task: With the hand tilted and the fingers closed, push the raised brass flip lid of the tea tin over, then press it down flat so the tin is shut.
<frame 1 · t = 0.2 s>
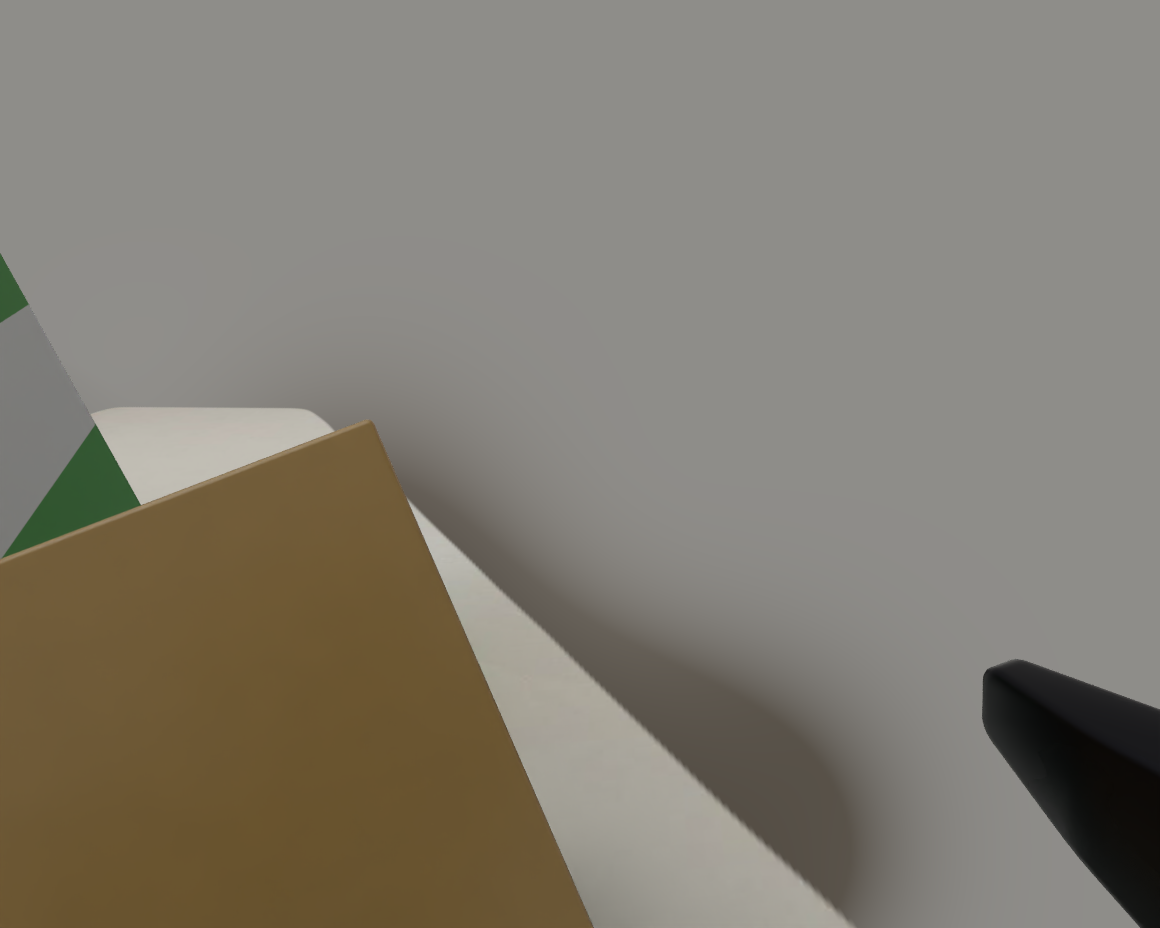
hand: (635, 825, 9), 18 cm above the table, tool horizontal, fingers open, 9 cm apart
hardback book: (129, 804, 35), on the table
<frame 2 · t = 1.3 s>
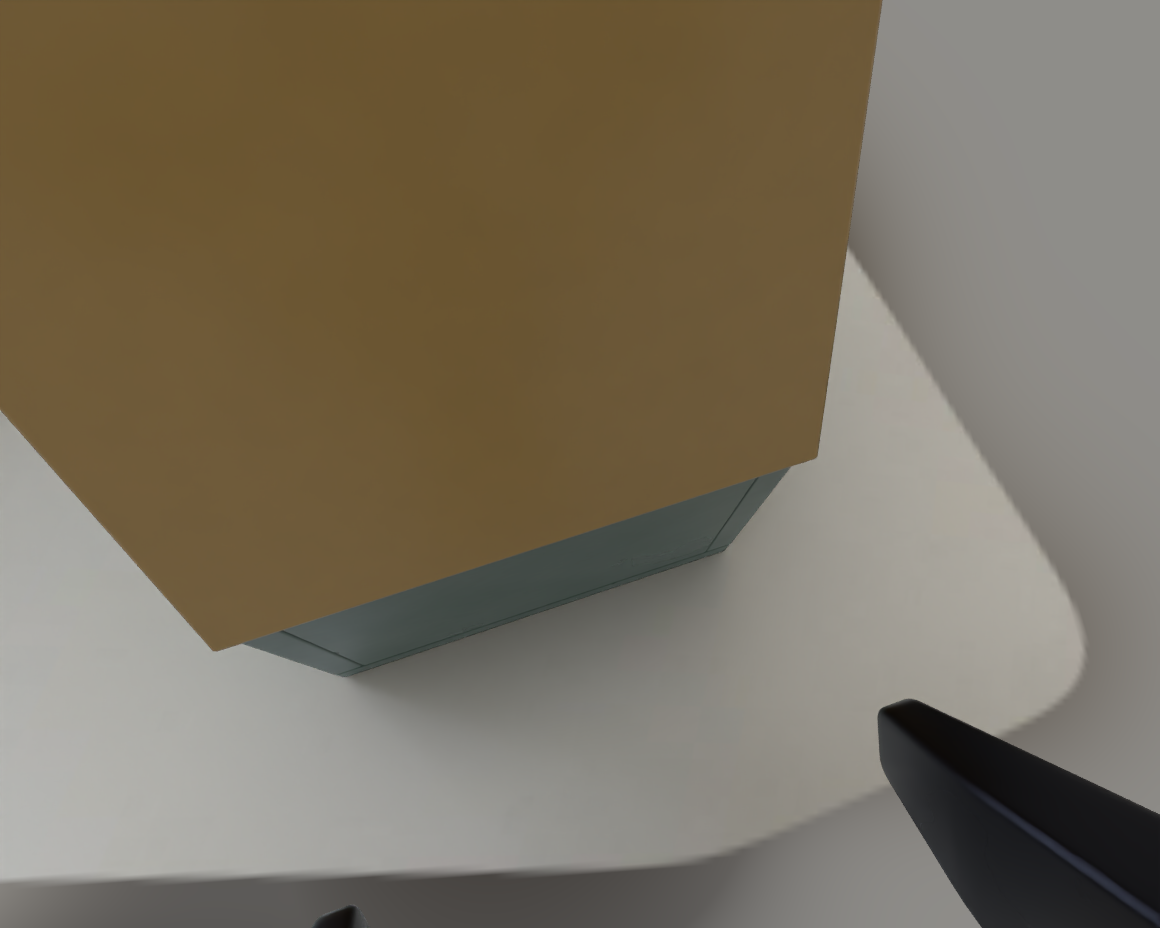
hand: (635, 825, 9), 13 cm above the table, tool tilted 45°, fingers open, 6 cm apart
tin lid: (425, 158, 9), point 15 cm above the table, hinge at 65.0°
tea tin: (476, 409, 24), on the table
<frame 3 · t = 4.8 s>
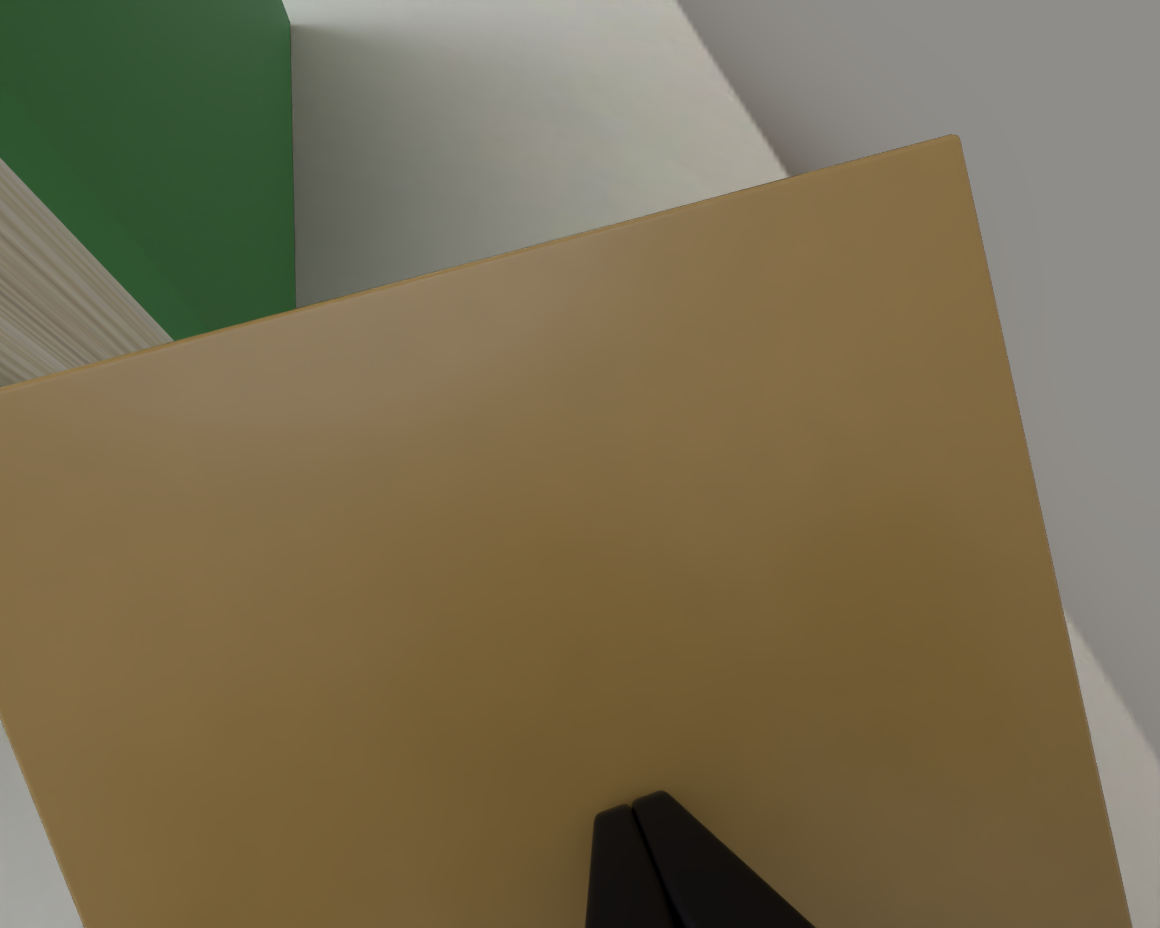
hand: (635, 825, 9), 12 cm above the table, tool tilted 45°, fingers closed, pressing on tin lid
hardback book: (187, 220, 26), on the table
tin lid: (644, 856, 9), point 11 cm above the table, hinge at 26.4°, touching gripper
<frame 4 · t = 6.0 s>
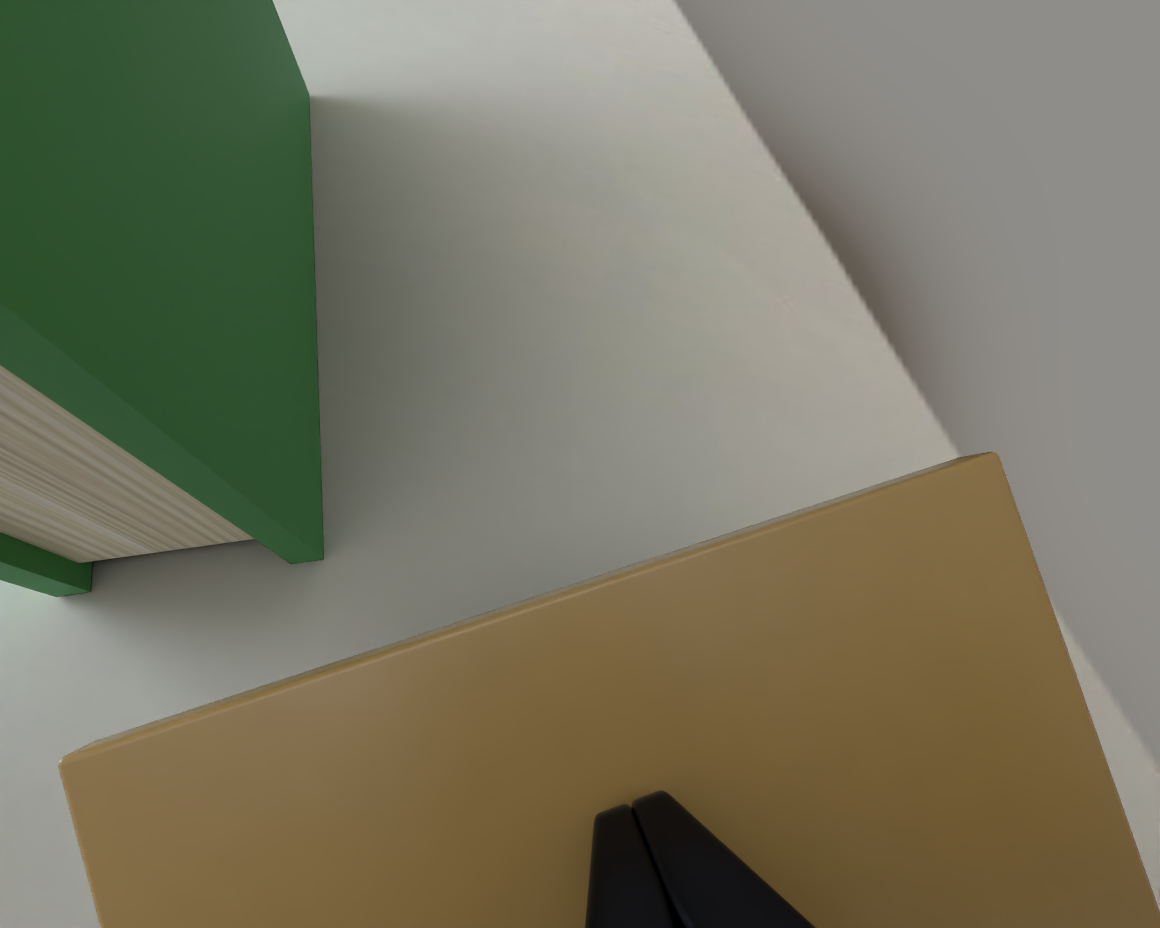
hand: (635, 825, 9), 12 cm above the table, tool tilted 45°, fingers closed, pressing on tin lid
hardback book: (202, 314, 25), on the table
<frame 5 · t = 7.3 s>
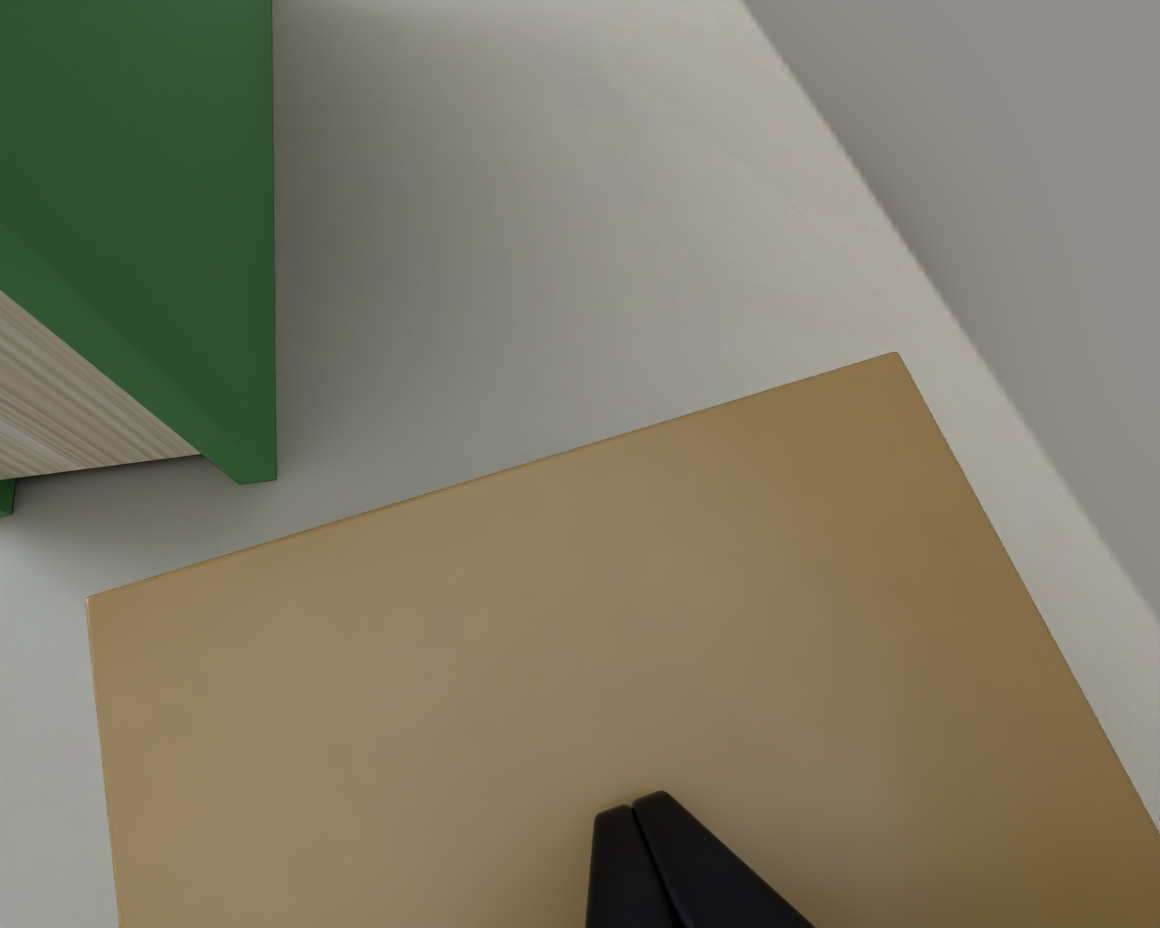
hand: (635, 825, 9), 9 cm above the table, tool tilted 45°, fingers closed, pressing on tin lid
hardback book: (147, 218, 22), on the table
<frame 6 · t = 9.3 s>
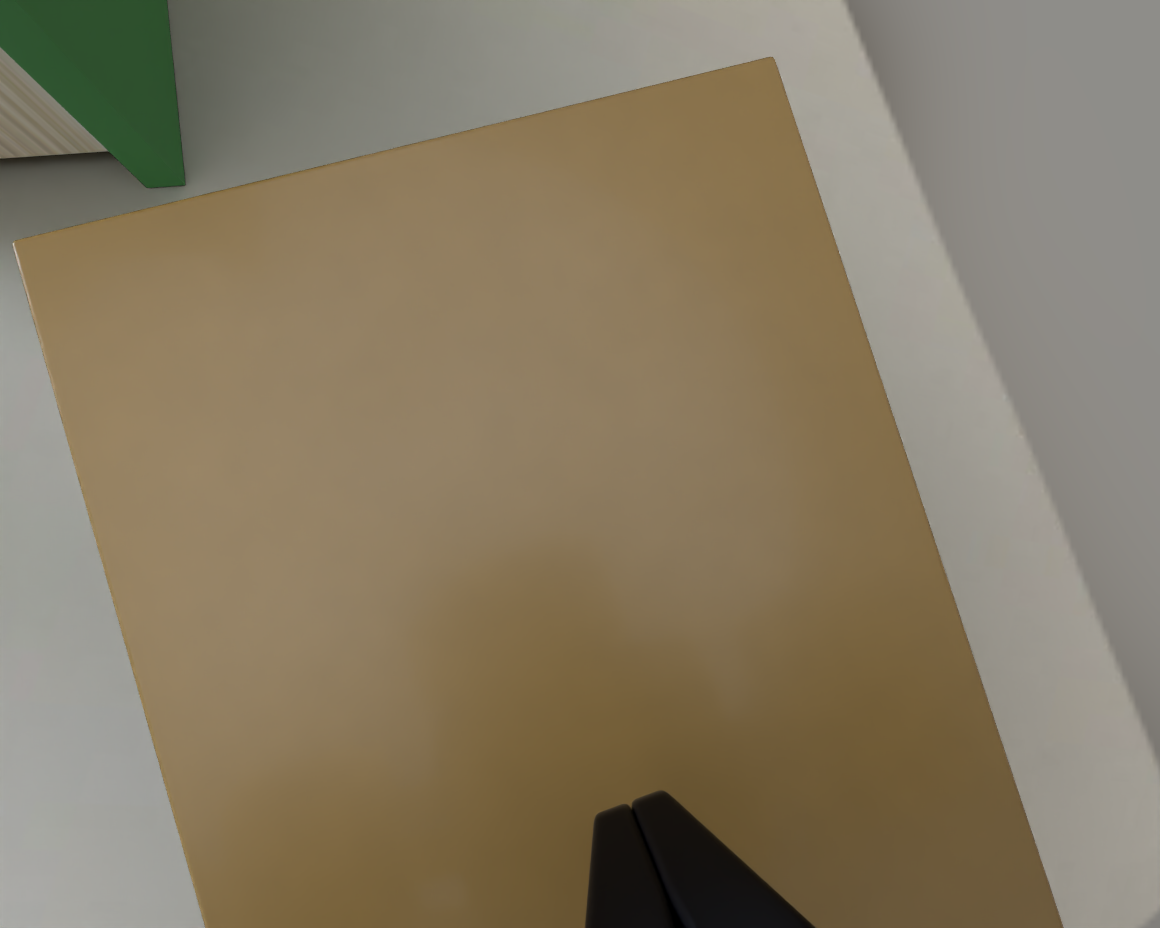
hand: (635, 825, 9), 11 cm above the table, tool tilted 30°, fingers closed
tin lid: (558, 604, 11), point 8 cm above the table, hinge at -0.1°
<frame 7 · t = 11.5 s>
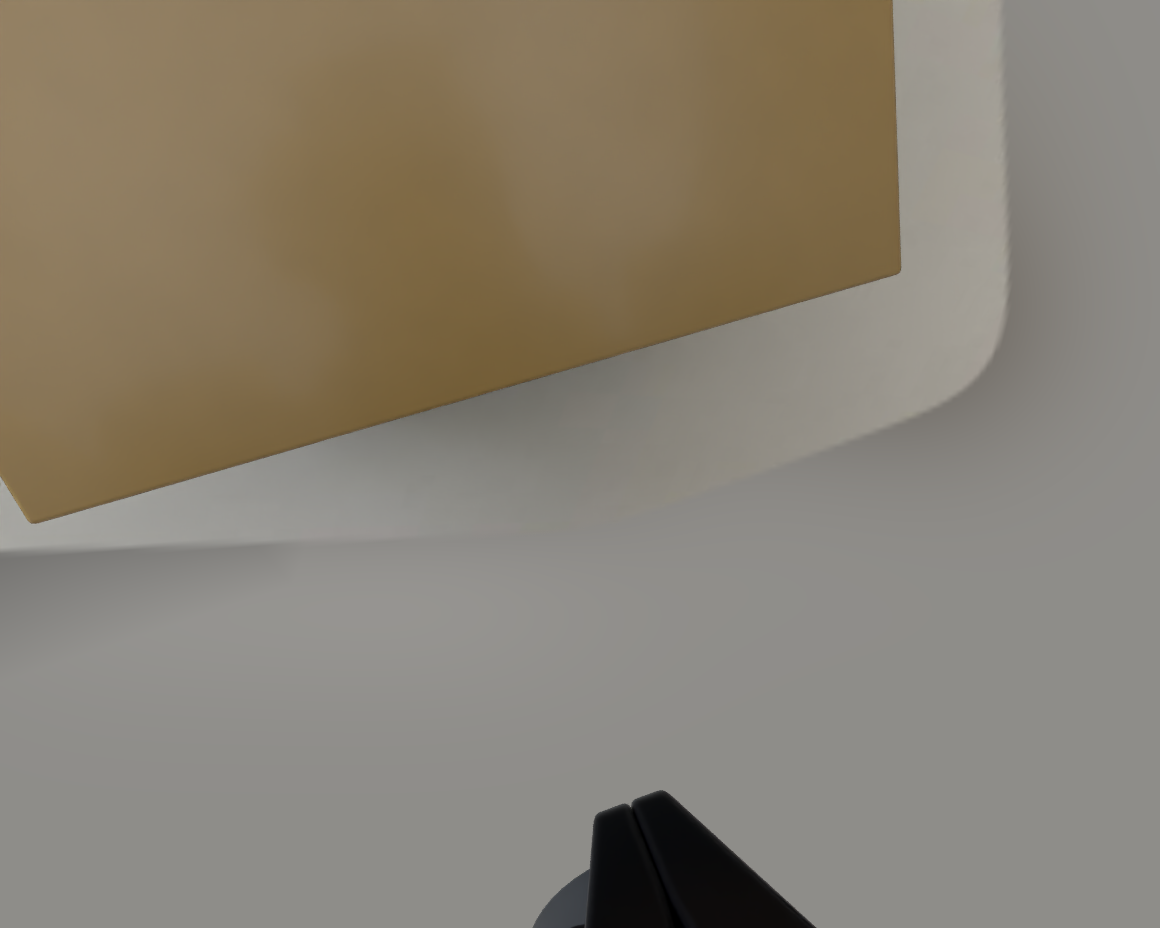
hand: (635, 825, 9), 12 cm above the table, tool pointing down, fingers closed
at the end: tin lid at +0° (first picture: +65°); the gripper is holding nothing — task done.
